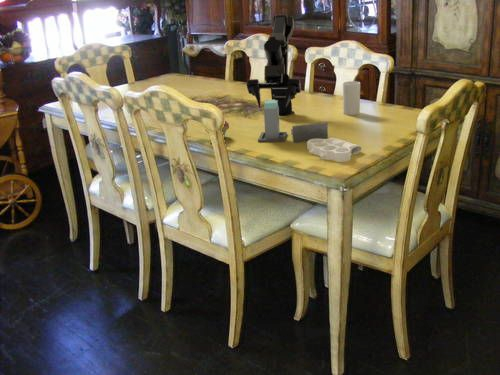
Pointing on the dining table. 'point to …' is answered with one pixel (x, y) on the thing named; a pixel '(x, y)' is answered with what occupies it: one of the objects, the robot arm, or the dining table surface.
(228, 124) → the cupcake
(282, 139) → the tray
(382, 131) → the dining table surface
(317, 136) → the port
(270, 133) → the plug
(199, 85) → the dining table surface
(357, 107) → the mug
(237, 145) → the dining table surface
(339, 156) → the white muffin tray
